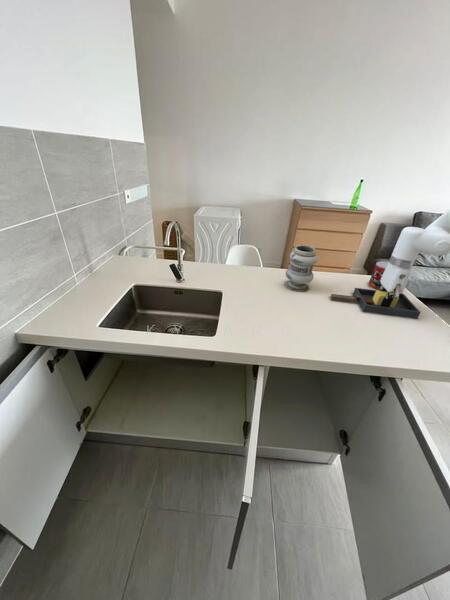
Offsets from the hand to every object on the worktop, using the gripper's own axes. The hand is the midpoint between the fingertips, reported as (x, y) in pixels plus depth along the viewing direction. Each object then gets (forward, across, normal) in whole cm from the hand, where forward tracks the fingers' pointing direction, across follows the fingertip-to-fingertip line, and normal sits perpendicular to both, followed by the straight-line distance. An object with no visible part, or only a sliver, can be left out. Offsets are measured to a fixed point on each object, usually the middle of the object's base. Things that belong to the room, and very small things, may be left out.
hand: (382, 303), depth 99 cm
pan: (+1, 0, 0) cm, 1 cm away
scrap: (+1, 0, +6) cm, 6 cm away
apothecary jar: (+1, +8, +34) cm, 34 cm away
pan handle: (+1, 0, +15) cm, 15 cm away
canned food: (+1, +18, -4) cm, 19 cm away
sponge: (0, 0, 0) cm, 0 cm away
